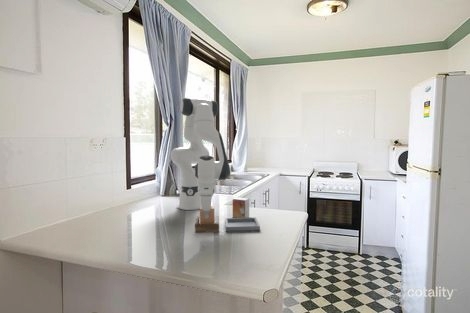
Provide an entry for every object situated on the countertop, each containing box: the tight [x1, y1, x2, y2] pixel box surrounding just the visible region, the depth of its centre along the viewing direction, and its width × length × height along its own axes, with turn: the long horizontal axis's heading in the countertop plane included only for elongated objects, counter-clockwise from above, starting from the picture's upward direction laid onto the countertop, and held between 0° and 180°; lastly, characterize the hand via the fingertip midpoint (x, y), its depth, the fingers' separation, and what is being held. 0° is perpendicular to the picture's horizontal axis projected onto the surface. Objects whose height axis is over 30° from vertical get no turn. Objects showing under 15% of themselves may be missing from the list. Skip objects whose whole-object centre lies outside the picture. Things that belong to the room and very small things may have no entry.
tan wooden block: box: [199, 205, 216, 224], centre depth 144 cm, size 5×7×8 cm
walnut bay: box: [194, 215, 220, 234], centre depth 143 cm, size 14×11×4 cm
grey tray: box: [224, 216, 261, 233], centre depth 144 cm, size 15×16×2 cm
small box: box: [232, 196, 250, 218], centre depth 162 cm, size 8×6×10 cm
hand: (207, 216), depth 144 cm, fingers closed on tan wooden block, 5 cm apart
